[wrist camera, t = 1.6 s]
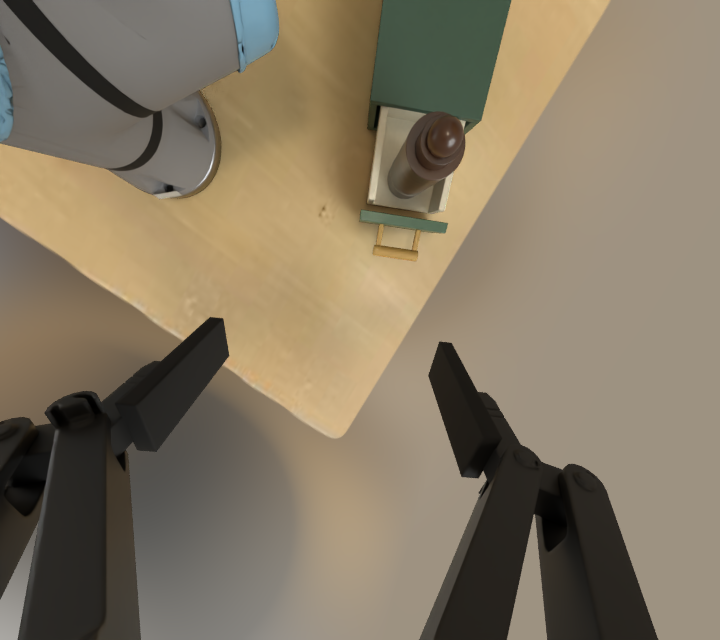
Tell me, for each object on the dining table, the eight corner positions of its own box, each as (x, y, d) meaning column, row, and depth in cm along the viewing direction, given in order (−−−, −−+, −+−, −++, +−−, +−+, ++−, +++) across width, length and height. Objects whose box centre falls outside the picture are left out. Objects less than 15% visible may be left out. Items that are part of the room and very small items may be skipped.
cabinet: (454, 144, 35) (481, 120, 27) (367, 129, 34) (370, 100, 27) (486, 2, 30) (530, -75, 23) (386, -19, 30) (396, -106, 22)
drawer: (425, 260, 39) (437, 266, 33) (355, 250, 39) (355, 253, 33) (455, 125, 34) (477, 103, 28) (374, 110, 33) (377, 84, 27)
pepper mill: (379, 182, 35) (399, 137, 18) (404, 148, 33) (451, 66, 17) (407, 207, 36) (450, 187, 19) (432, 175, 35) (502, 123, 18)
